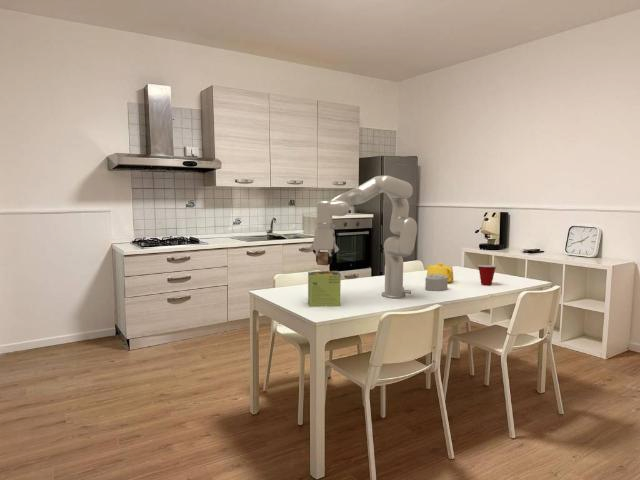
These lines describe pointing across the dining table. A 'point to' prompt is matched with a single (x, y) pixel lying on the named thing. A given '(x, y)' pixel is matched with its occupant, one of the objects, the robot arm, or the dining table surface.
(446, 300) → the dining table surface
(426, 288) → the lumpy-topped squat cylinder
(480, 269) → the plastic cup
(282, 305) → the dining table surface
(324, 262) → the walnut block
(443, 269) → the teapot
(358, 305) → the dining table surface
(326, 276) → the protein box
